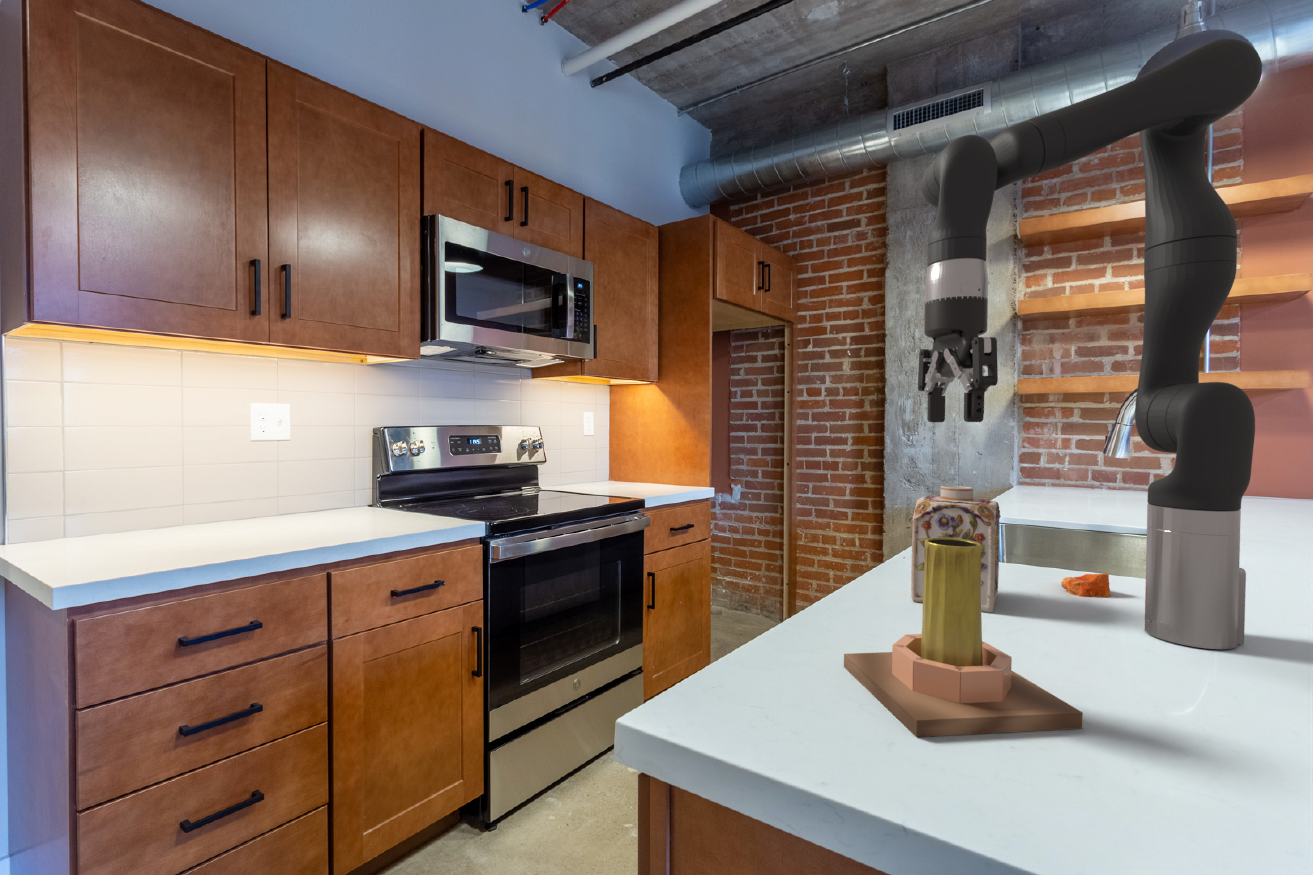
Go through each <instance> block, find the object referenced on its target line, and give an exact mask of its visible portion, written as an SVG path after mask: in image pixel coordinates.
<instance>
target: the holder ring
mask: <svg viewBox="0 0 1313 875" xmlns="http://www.w3.org/2000/svg"><path fill="white" fill-rule="evenodd" d="M921 638H922V633H919V634H918V633H915V634H913V633H912V634H909V633H907V634H903V636H902V637H900V638H899V639H898V640H897V641H896V642H894V643H893V644H892V651H891V652H892V674H893V675H894V676H896V677H897V678H898V679H899V680H900V681H902V682H903V683H904V684H905V685H906V686H908V687H909V688H910V689H911V690H912V691H915V692H919V693H923V694H927V695H930V696H934V697H938V698H942V699H945V700H949V701H953V702H957V703H980V702H1002V701H1003V700H1004V698H1005V697H1006V695H1007V693H1008V691H1009V690H1010V688H1011V670H1012V662H1013V660H1012V656H1011V655H1010V654H1009V655H1008V654H1007V653H1005V652H1003V651H1002V650H1000V649H998V648H996V647H995V646H993V645H991V644H989V643H987V642H986V641H982V653H983V666H966V667H957V666H953V665H948V664H944V663H940V662H935V661H931V660H927V659H922V658H921Z"/></svg>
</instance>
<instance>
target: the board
mask: <svg viewBox="0 0 1313 875" xmlns="http://www.w3.org/2000/svg"><path fill="white" fill-rule="evenodd" d="M843 668H845V669H846V670H847V672H848V673H849V674H851V675H852V677H854V678H855V679H856V680H857V681H858V682H859V683H860V684H861V685H862V686H863V687H864V688H865V689H866V690H867V691H868V692H869V693H870V694H871V695H873V697H875V699H877V701H879V702H880V704H882V706H884V707H885V708H886V709H887V710H888V711H889V712H890V713H891V714H892V715H893V716H894V717H895V718H896V719H897V720H898V721H899V722H901V724H902V725H903V726H905V727H906V728H907V729H908V730H909V732H910V733H912V735H914V736H915V737H916V738H923V737H942V736H943V737H944V736H964V735H983V734H1000V733H1002V734H1003V733H1005V734H1006V733H1021V732H1041V731H1044V732H1045V731H1063V730H1077V729H1078V730H1080V729H1083V711H1081V710H1079V709H1078V708H1077V707H1074V706H1072V705H1071V704H1069V703H1067V702H1065V701H1064V700H1063V699H1061V698H1059V697H1057V696H1056V695H1054V694H1052V693H1051V692H1048V691H1047V690H1045V689H1044V688H1042V687H1041V686H1039V685H1037V684H1035V683H1033V682H1032V681H1031V680H1028V679H1027V678H1025V677H1024V676H1022V675H1020V674H1019V673H1017V672H1015V671H1013V670H1012V669H1011V688H1010V690H1009V691H1008V693H1007V695H1006V697H1005V698H1004V700H1003V701H1002V702H980V703H957V702H953V701H949V700H945V699H942V698H938V697H934V696H930V695H927V694H923V693H919V692H915V691H912V690H911V689H910V688H909V687H908V686H906V685H905V684H904V683H903V682H902V681H900V680H899V679H898V678H897V677H896V676H894V675H893V674H892V651H889V652H888V651H886V652H882V651H881V652H860V653H859V652H857V653H856V652H855V653H843Z"/></svg>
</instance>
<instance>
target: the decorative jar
mask: <svg viewBox="0 0 1313 875" xmlns="http://www.w3.org/2000/svg"><path fill="white" fill-rule="evenodd" d="M1000 518H1001V511H1000V506H999V503H998V502H997V501H995V500H991V499H988V498H984V497H983V498H982V497H981V498H980V497H974V489H973V487H971V486H961V485H941V486H940V495H938V494H933V495H932V494H931V495H927V496H926V495H925V496H920V497H919V498H917V500H916V504H915V508H914V510H913V516H912V517H911V520H912V535H911V536H912V538H911V570H910V572H911V577H910V578H911V579H910V580H911V585H910V587H911V588H910V591H911V592H910V593H911V594H910V595H911V597H910V598H911V601H912V602H914V603H921V604H923V587H924V559H925V540H926V539H929V538H958V539H966V540H971V541H975V542H978V543H980V544H981V613H988V614H991V613H993V612H994V609H995V605H996V602H997V598H998V594H999V593H998V592H999V575H1000V574H999V572H1000Z"/></svg>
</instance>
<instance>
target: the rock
mask: <svg viewBox="0 0 1313 875" xmlns="http://www.w3.org/2000/svg"><path fill="white" fill-rule="evenodd" d="M1060 583H1061V587H1062V589H1064V590H1066V591H1067V592H1068V593H1069V594H1070V595H1074V596H1078V597H1083V598H1110V597H1111V596H1112V595H1111V589H1110V588H1111V587H1110V577H1109V573H1106V572H1103V573H1084V574H1083V575H1081V576H1074V577H1072V576H1066V577H1063V579H1062V580H1061V582H1060Z"/></svg>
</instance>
